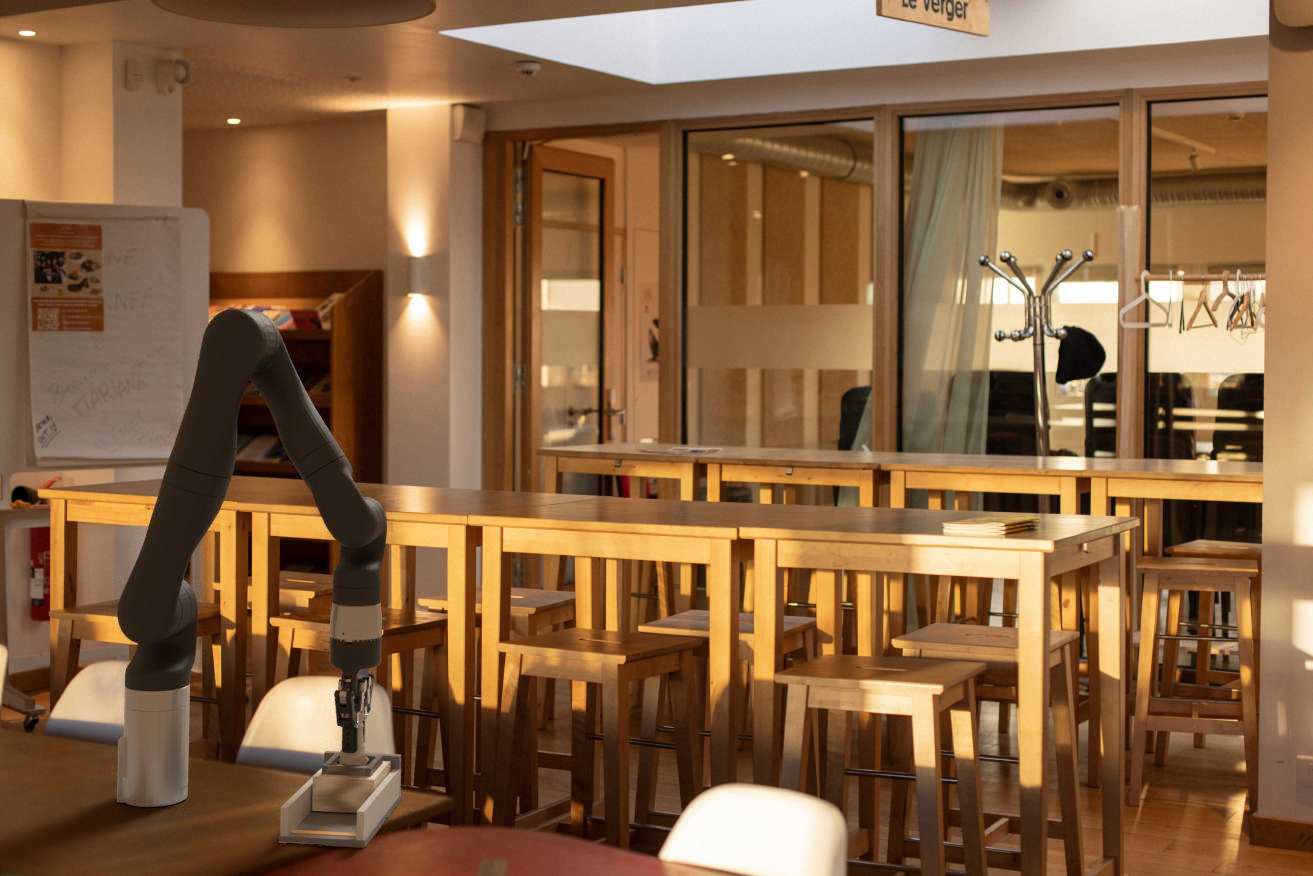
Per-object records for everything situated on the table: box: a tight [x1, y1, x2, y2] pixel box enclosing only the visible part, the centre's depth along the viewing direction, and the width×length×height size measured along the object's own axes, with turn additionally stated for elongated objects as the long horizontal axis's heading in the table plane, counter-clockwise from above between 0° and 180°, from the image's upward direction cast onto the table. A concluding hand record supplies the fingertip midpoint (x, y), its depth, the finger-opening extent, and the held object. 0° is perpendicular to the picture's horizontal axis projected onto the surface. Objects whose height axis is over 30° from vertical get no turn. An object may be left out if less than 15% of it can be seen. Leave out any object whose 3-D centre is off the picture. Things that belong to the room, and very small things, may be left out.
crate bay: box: [278, 750, 402, 849], centre depth 207 cm, size 12×22×7 cm, turn 177°
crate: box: [312, 753, 391, 813], centre depth 212 cm, size 9×10×6 cm
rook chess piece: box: [338, 709, 370, 766], centre depth 212 cm, size 4×4×8 cm
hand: (353, 748), depth 212 cm, fingers closed on rook chess piece, 3 cm apart
